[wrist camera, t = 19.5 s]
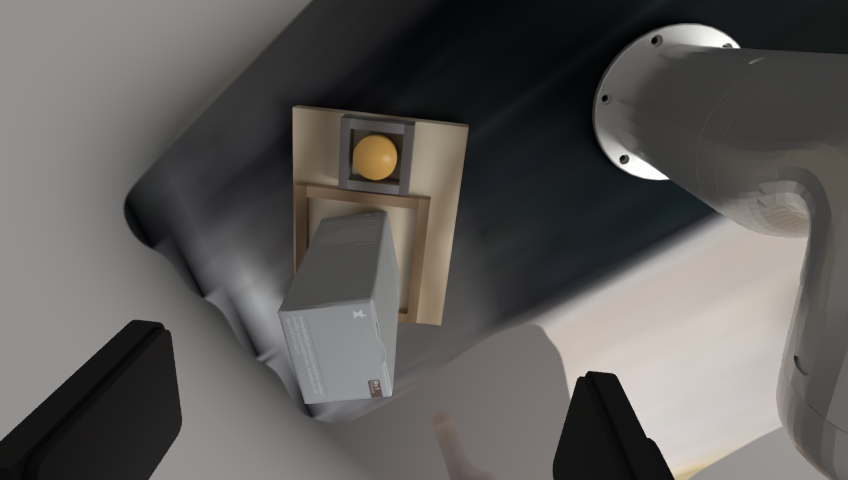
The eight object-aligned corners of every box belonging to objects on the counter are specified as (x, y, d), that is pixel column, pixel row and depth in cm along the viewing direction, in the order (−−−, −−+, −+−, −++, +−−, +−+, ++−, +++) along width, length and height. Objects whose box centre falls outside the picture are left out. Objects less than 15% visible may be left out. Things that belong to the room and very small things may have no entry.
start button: (400, 134, 41) (397, 139, 39) (396, 175, 43) (394, 182, 41) (358, 130, 41) (354, 134, 39) (356, 170, 43) (352, 177, 41)
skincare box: (321, 215, 45) (261, 305, 30) (397, 208, 44) (373, 295, 30) (339, 295, 48) (292, 409, 34) (410, 288, 47) (393, 403, 33)
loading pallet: (467, 124, 42) (469, 132, 39) (441, 317, 50) (440, 336, 47) (297, 104, 42) (285, 111, 39) (297, 301, 50) (287, 319, 47)
